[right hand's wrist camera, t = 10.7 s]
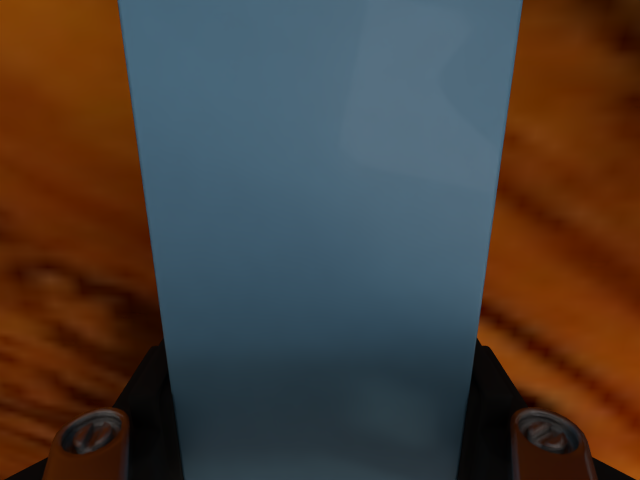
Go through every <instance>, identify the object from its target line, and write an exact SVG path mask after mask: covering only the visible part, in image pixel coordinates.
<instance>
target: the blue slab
mask: <svg viewBox="0 0 640 480" xmlns="http://www.w3.org/2000/svg"><path fill="white" fill-rule="evenodd" d="M522 3H523V0H118V7H119V15H120V22H121V29H122V36H123V44H124V51H125V58H126V65H127V73H128V80H129V87H130V94H131V102H132V109H133V116H134V123H135V131H136V138H137V145H138V153H139V160H140V167H141V174H142V182H143V189H144V196H145V203H146V211H147V218H148V225H149V232H150V240H151V247H152V254H153V261H154V269H155V276H156V283H157V290H158V298H159V305H160V312H161V320H162V327H163V334H164V341H165V349H166V356H167V363H168V370H169V378H170V385H171V392H172V398H173V405H174V412H175V420H176V427H177V434H178V442H179V449H180V456H181V463H182V471H183V478H184V480H457V477H458V470H459V462H460V455H461V448H462V441H463V433H464V426H465V419H466V411H467V404H468V397H469V389H470V382H471V375H472V368H473V360H474V353H475V346H476V338H477V331H478V324H479V316H480V309H481V302H482V295H483V287H484V280H485V273H486V265H487V258H488V251H489V243H490V236H491V229H492V222H493V214H494V207H495V200H496V192H497V185H498V178H499V170H500V163H501V156H502V149H503V141H504V134H505V127H506V119H507V112H508V105H509V97H510V90H511V83H512V76H513V68H514V61H515V54H516V46H517V39H518V32H519V24H520V17H521V10H522Z"/></svg>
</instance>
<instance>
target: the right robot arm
mask: <svg viewBox="0 0 640 480" xmlns="http://www.w3.org/2000/svg"><path fill="white" fill-rule="evenodd" d="M5 480H184V478H183V471H182V463H181V456H180V449H179V442H178V434H177V427H176V420H175V412H174V405H173V398H172V392H171V385H170V378H169V370H168V363H167V356H166V349H165V341H164V338H163V340H162V341H161V343H160V345H159V346H153V347H151V348H150V350H149V351H148V352H147V354H146V356H145V357H144V359H143V360H142V362H141V363H140V365H139V366H138V368H137V370H136V371H135V373H134V374H133V376H132V377H131V379H130V380H129V382H128V384H127V385H126V387H125V388H124V390H123V391H122V393H121V394H120V396H119V398H118V399H117V401H116V402H115V404H114V405H113V407H112V408H110V407H105V408H97V409H93V410H90V411H87V412H84V413H82V414H80V415H78V416H76V417H74V418H73V419H71V420H70V421H69V422H67V423H66V424H65V425H63V426H62V428H61V429H60V430H59V431H58V432H57V433H56V435H55V437H54V439H53V441H52V445H51V449H50V452H49V456H48V457H47V458H45V459H44V460H42V461H40V462H38V463H36V464H34V465H32V466H30V467H28V468H26V469H24V470H22V471H20V472H18V473H16V474H14V475H13V476H11V477H9V478H7V479H5ZM457 480H636V479H634V478H632V477H630V476H628V475H626V474H624V473H622V472H620V471H618V470H616V469H614V468H612V467H610V466H608V465H607V464H605V463H603V462H601V461H599V460H597V459H595V458H593V457H592V456H591V452H590V449H589V445H588V441H587V439H586V437H585V435H584V433H583V432H582V431H581V430H580V429H579V428H578V426H577V425H575V424H574V423H573V422H571V421H570V420H569V419H567V418H566V417H564V416H562V415H560V414H558V413H556V412H553V411H550V410H547V409H543V408H535V407H530V408H528V406H527V405H526V403H525V401H524V400H523V398H522V397H521V395H520V394H519V392H518V391H517V389H516V387H515V386H514V384H513V383H512V381H511V380H510V378H509V377H508V375H507V373H506V372H505V370H504V369H503V367H502V366H501V364H500V362H499V361H498V359H497V358H496V356H495V355H494V353H493V352H492V350H491V349H490V348H489V347H488V346H482V345H481V344H480V342H479V340H478V339H477V338H476V346H475V353H474V360H473V368H472V375H471V382H470V389H469V397H468V404H467V411H466V419H465V426H464V433H463V441H462V448H461V455H460V462H459V470H458V477H457Z"/></svg>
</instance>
